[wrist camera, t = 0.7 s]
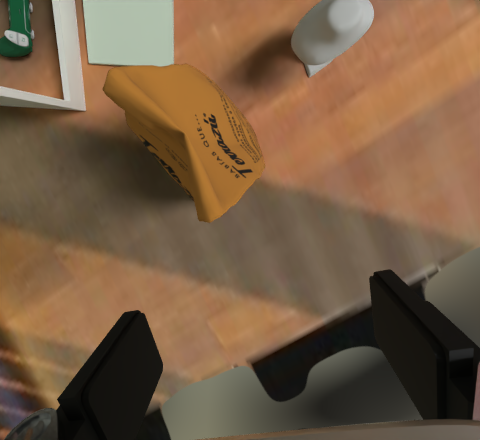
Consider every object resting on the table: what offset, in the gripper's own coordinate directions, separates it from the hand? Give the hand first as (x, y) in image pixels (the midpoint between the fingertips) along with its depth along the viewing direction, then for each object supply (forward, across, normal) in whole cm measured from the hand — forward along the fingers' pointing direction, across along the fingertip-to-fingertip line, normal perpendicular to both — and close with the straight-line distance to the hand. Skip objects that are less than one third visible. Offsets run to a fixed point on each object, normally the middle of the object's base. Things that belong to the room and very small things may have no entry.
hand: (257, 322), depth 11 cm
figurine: (+29, -10, -16) cm, 34 cm away
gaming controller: (+29, +25, -28) cm, 47 cm away
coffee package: (+29, +4, -7) cm, 30 cm away
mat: (+29, +11, -25) cm, 39 cm away
